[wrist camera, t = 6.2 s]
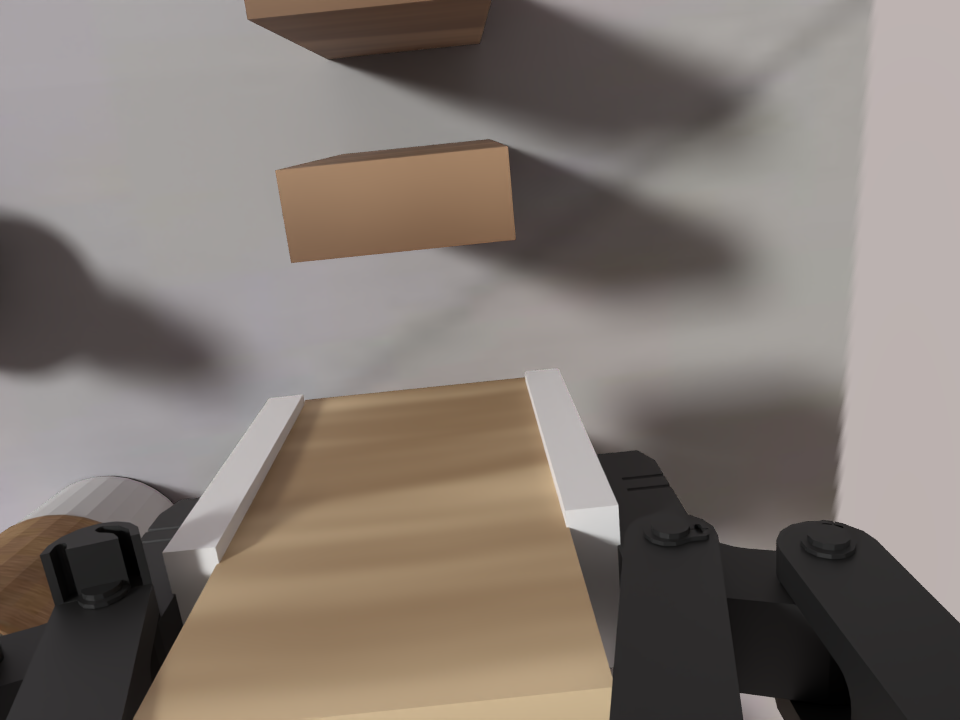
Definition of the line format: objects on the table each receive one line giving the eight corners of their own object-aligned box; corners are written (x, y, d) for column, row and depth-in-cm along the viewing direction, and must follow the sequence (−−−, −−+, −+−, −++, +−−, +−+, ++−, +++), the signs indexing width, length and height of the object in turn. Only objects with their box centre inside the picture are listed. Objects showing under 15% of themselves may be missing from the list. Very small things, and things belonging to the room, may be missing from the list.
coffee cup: (16, 421, 28) (-433, 723, 14) (244, 472, 29) (40, 806, 15) (-3, 611, 31) (-406, 1037, 16) (208, 653, 32) (2, 1092, 17)
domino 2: (342, 154, 26) (275, 170, 16) (489, 139, 26) (507, 146, 16) (350, 213, 27) (291, 262, 17) (494, 198, 27) (515, 239, 17)
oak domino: (305, 400, 17) (122, 738, 8) (525, 377, 17) (615, 686, 8) (319, 480, 18) (164, 886, 8) (532, 457, 18) (623, 838, 8)
